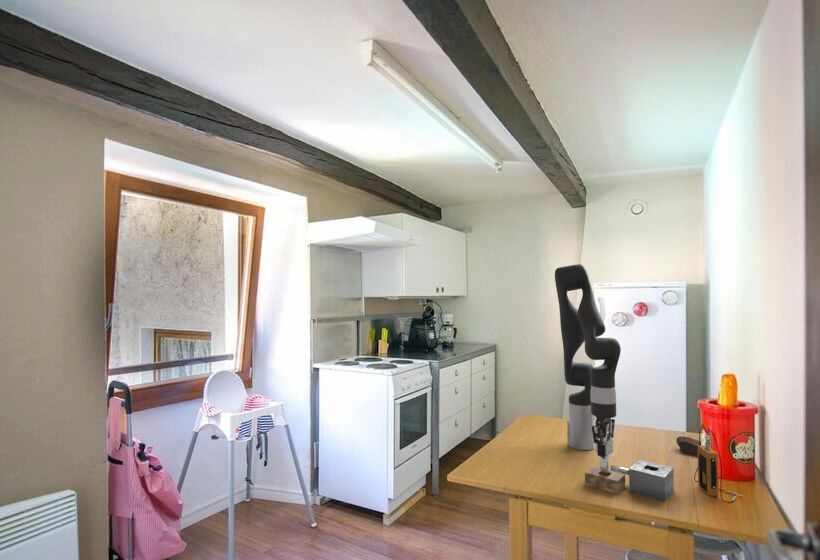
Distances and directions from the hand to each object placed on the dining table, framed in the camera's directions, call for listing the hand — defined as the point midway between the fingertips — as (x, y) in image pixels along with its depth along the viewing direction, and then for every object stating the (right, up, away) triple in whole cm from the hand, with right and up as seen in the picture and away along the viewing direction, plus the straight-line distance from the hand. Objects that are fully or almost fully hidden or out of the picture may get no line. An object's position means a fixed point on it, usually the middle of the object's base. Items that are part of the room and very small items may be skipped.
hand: (604, 454), depth 145 cm
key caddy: (0, -10, 0) cm, 10 cm away
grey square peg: (0, -7, 0) cm, 7 cm away
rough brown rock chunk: (+45, -11, +29) cm, 55 cm away
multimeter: (+34, -10, -5) cm, 36 cm away
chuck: (+11, -10, -2) cm, 15 cm away
